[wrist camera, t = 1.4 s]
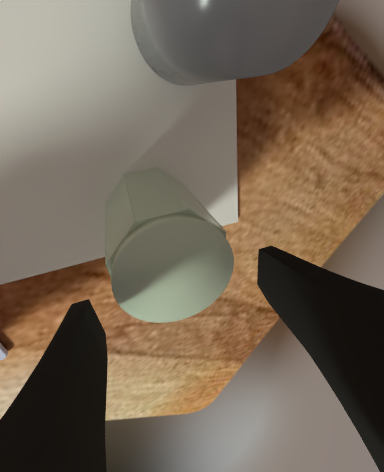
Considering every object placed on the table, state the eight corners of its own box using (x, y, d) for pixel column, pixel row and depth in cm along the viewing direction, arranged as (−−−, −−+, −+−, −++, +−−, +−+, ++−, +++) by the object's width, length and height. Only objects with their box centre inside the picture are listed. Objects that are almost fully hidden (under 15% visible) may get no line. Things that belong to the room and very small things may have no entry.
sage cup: (121, 250, 18) (130, 337, 12) (97, 179, 15) (91, 241, 9) (191, 232, 19) (235, 301, 13) (181, 162, 16) (232, 206, 10)
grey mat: (-25, 288, 17) (-28, 291, 16) (-379, -145, 7) (-403, -156, 7) (235, 219, 21) (238, 221, 20) (229, -120, 11) (232, -127, 11)
